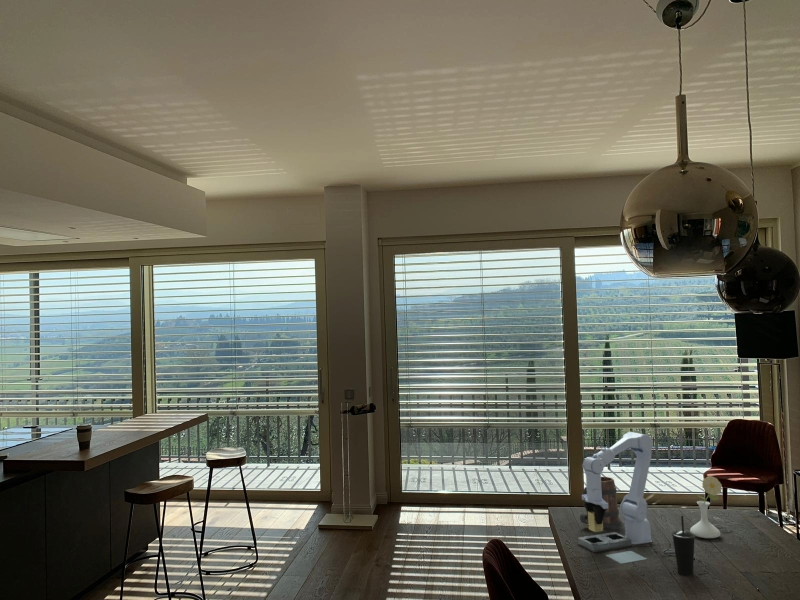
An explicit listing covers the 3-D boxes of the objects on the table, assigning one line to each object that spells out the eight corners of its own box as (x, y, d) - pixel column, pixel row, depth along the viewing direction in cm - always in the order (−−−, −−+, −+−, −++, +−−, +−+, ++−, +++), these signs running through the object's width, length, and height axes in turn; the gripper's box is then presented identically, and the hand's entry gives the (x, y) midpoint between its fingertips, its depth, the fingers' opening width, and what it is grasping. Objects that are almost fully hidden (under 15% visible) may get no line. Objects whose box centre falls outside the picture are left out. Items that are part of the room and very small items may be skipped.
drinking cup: (688, 579, 202) (684, 520, 203) (669, 571, 208) (665, 514, 210) (702, 574, 205) (698, 516, 206) (683, 567, 212) (679, 511, 213)
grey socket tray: (615, 539, 243) (614, 531, 243) (631, 547, 233) (631, 539, 233) (578, 545, 237) (577, 537, 237) (593, 553, 228) (593, 545, 228)
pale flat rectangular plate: (630, 552, 228) (630, 550, 228) (647, 560, 219) (647, 558, 219) (605, 556, 224) (605, 555, 224) (621, 565, 215) (620, 563, 215)
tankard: (600, 515, 275) (598, 472, 276) (632, 524, 261) (629, 479, 262) (567, 525, 262) (565, 480, 264) (598, 535, 248) (596, 487, 250)
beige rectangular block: (597, 527, 236) (596, 510, 236) (603, 530, 232) (602, 512, 232) (588, 529, 234) (587, 511, 235) (594, 532, 231) (593, 514, 231)
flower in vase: (691, 539, 240) (687, 477, 242) (689, 530, 251) (685, 471, 252) (727, 542, 235) (723, 479, 237) (723, 533, 246) (719, 473, 247)
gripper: (574, 484, 240) (576, 518, 239) (596, 493, 226) (598, 529, 225) (589, 482, 242) (591, 516, 241) (612, 491, 228) (613, 526, 227)
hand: (595, 522), depth 233 cm, fingers closed on beige rectangular block, 4 cm apart
